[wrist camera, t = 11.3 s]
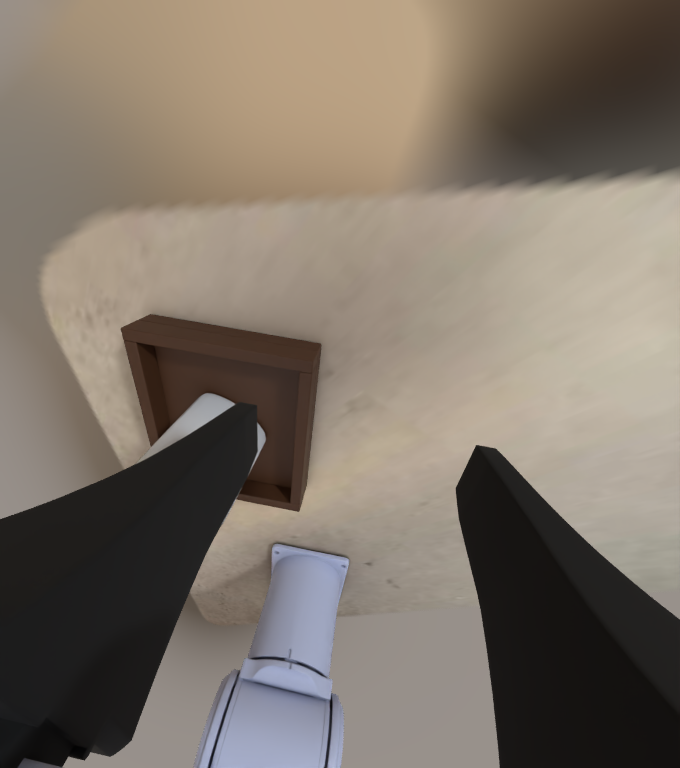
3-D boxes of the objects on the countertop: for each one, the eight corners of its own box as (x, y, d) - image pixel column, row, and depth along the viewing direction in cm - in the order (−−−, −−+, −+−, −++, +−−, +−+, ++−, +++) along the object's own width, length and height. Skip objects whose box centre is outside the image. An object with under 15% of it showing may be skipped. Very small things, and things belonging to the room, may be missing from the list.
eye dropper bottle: (224, 453, 24) (108, 634, 14) (187, 395, 22) (13, 563, 12) (273, 444, 23) (185, 635, 13) (240, 382, 21) (98, 556, 11)
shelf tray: (306, 485, 27) (299, 512, 25) (179, 460, 27) (160, 484, 25) (321, 343, 20) (313, 361, 18) (150, 313, 20) (120, 327, 18)
